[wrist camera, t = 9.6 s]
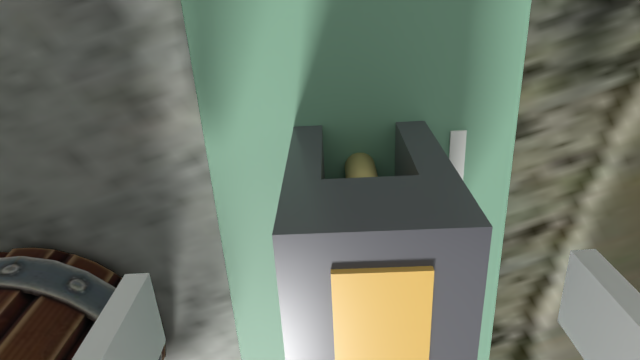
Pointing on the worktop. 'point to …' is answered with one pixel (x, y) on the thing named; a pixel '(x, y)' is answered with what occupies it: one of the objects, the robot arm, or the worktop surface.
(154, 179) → the worktop surface
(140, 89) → the worktop surface
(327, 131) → the board
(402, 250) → the grey slotted block
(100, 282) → the mug
